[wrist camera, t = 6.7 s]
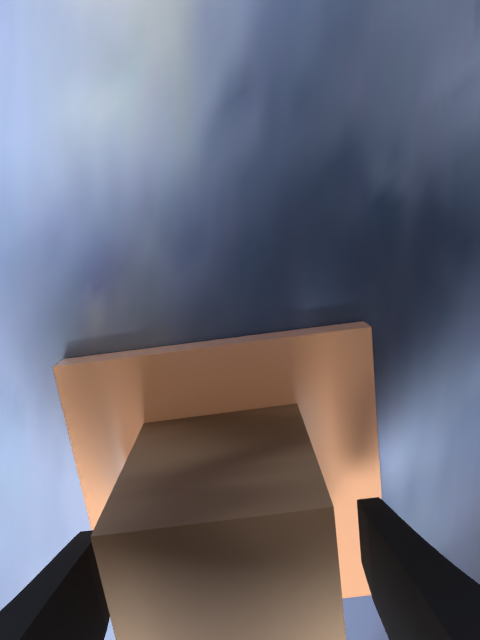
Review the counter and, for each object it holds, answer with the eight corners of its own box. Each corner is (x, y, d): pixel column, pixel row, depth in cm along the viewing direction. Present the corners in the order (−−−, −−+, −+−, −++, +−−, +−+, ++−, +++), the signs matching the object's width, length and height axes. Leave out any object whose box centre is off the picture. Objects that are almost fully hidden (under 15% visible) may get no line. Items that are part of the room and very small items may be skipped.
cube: (297, 403, 13) (333, 506, 8) (311, 536, 14) (351, 696, 9) (143, 422, 13) (90, 536, 8) (169, 552, 14) (135, 721, 9)
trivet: (363, 320, 13) (371, 326, 13) (379, 574, 16) (387, 593, 15) (63, 359, 14) (52, 367, 13) (120, 604, 16) (114, 624, 15)
